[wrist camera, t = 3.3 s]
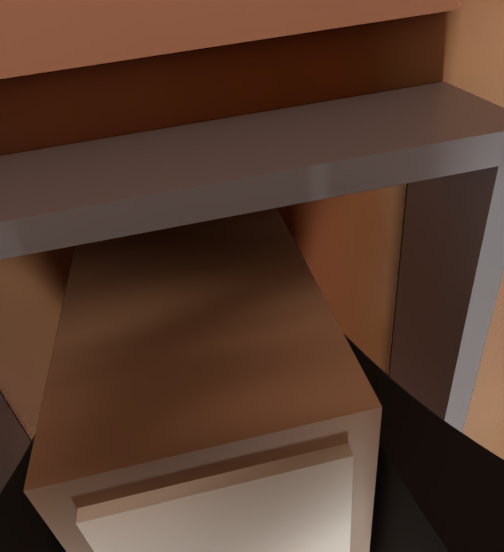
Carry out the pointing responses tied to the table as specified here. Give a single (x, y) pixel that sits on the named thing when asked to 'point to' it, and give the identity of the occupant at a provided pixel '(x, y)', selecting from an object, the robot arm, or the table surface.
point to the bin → (293, 190)
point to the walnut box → (203, 400)
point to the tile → (169, 26)
